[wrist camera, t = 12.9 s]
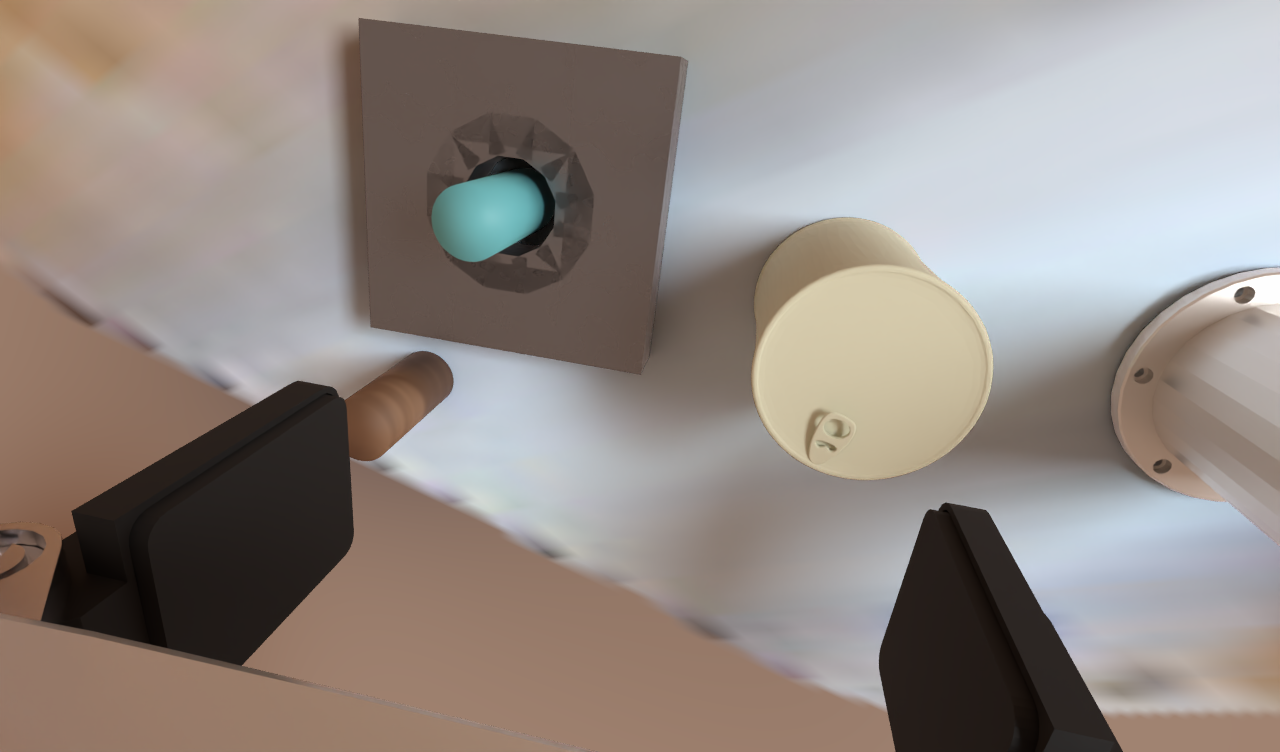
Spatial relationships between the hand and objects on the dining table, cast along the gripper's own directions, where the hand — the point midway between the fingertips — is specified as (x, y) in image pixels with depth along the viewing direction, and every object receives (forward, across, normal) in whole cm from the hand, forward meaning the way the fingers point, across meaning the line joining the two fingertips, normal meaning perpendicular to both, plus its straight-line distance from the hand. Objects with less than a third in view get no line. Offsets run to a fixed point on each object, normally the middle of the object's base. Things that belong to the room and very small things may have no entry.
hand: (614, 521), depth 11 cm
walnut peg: (+28, +17, +12) cm, 35 cm away
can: (+28, -7, +3) cm, 30 cm away
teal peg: (+28, +11, 0) cm, 30 cm away
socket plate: (+28, +11, 0) cm, 30 cm away
